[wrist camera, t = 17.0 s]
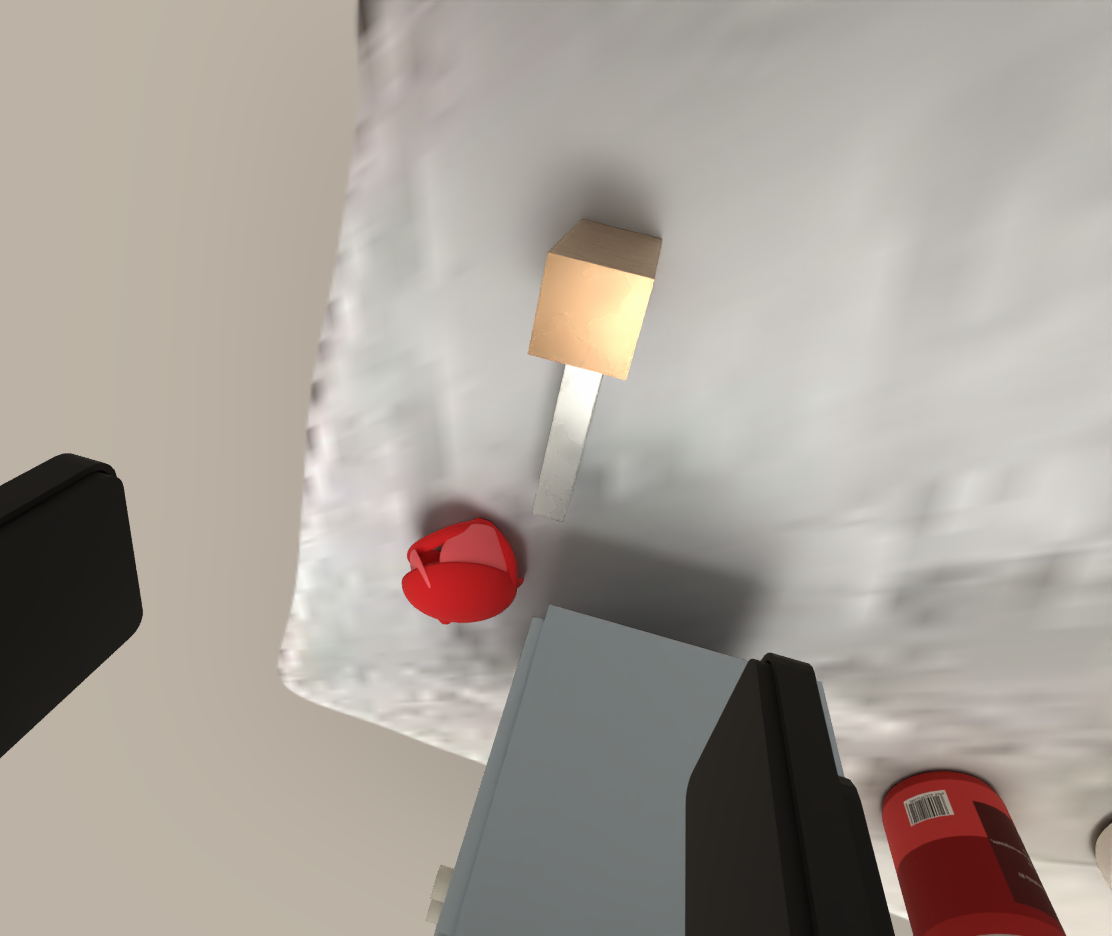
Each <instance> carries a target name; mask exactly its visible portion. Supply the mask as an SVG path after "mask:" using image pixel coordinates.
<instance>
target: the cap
mask: <svg viewBox="0 0 1112 936" xmlns="http://www.w3.org/2000/svg"><path fill="white" fill-rule="evenodd" d="M443 544H444V545H443ZM441 545H443V547H442V549H441V553H440V552H439V551H438V550H433V549H435V548H437V547H439V546H441ZM407 559H408V561H409V562H410V566H411V571H410V572H408V573H407V574H406V575H405V576H404V577H403V579H402V589H403V592H404V594H405V596H406V598H407V599H408V601H409V602H410V603H411V604H412V605H413V606H414V607H415V608H417V609H418V610H419V611H421V612H423V613H424V614H426V615H428V616H431V617H433V618H436V619H438V620H439V621H440V622H441V623H442V624H450V623H451V622H457V623H469V622H477V621H482V620H486V619H489V618H491V617H494V616H496V615H498V614H500V613H501V612H503V611H504V610H505V609H506V608H508V607H509V606H510V604H511V603H512V602H513V600H514V598H515V596H516V593H517V588H518V587H519V586H520V585H521V584H522V583H523V581H524V578H517V562H516V558H515V555H514V553H513V550H512V548H511V546H510V545H509V543H508V541H507V540H506V538H505V537H504V536H503V534H502V533H501V532H500V531H499V530H498V528H497V527H496V526H495V525H493V523H492V522H491V521H488V520H484V519H481V518H475V519H473V521H467V522H461V523H457V524H454V525H451V526H448V527H445V528H443V529H440V530H438V531H436V532H434V533H431V534H429V535H427V536H425V537H423V538H422V539H420V540H418V541H417V542H415V543H414V544H413V545H412V546H411V547H410V548H409V550H408V553H407ZM439 562H440V563H439ZM433 563H435V564H433ZM427 564H429V565H427Z"/></svg>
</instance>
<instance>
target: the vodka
mask: <svg viewBox="0 0 1112 936" xmlns="http://www.w3.org/2000/svg"><path fill="white" fill-rule="evenodd" d="M1095 851H1096V862H1097V866H1098V868H1099V870H1100V872H1101V873H1102V875H1103V877H1104V878H1105V880H1106V882H1107V884H1108V885H1109V887H1110V889H1111V890H1112V823H1111V824H1110V825H1109V826H1107V827H1106V828H1105V829H1104V830H1103V832H1102V833H1101V834H1100V836H1099V837H1098V839H1097V842H1096V850H1095Z"/></svg>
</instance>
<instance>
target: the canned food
mask: <svg viewBox="0 0 1112 936" xmlns="http://www.w3.org/2000/svg"><path fill="white" fill-rule="evenodd" d="M882 821H883V825H884V829H885V832H886V836H887V840H888V843H889V847H890V851H891V854H892V858H893V862H894V866H895V869H896V873H897V877H898V880H899V884H900V888H901V891H902V895H903V899H904V902H905V906H906V910H907V913H908V917H909V921H910V924H911V928H912V932H913V936H1066V934H1065V932H1064V930H1063V928H1062V926H1061V924H1060V921H1059V919H1058V917H1057V915H1056V913H1055V911H1054V909H1053V907H1052V904H1051V902H1050V900H1049V898H1048V896H1047V894H1046V892H1045V889H1044V887H1043V885H1042V883H1041V881H1040V879H1039V877H1038V874H1037V872H1036V870H1035V868H1034V866H1033V864H1032V862H1031V860H1030V857H1029V855H1028V853H1027V851H1026V849H1025V847H1024V845H1023V842H1022V840H1021V838H1020V836H1019V834H1018V832H1017V830H1016V827H1015V825H1014V823H1013V821H1012V819H1011V817H1010V815H1009V813H1008V810H1007V808H1006V806H1005V804H1004V803H1003V801H1002V799H1001V798H1000V797H999V796H998V795H997V794H996V793H995V791H994V790H993V789H992V788H991V787H990V786H989V785H988V784H986V783H985V782H983V781H982V780H980V779H978V778H976V777H973V776H971V775H967V774H963V773H959V772H950V771H934V772H927V773H922V774H918V775H914V776H912V777H909V778H907V779H905V780H903V781H901V782H900V783H898V784H897V785H895V786H894V787H893V788H892V789H891V790H890V791H889V792H888V794H887V795H886V797H885V799H884V802H883V811H882Z"/></svg>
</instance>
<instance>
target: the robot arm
mask: <svg viewBox="0 0 1112 936" xmlns="http://www.w3.org/2000/svg"><path fill="white" fill-rule="evenodd" d="M142 616H143V609H142V602H141V596H140V589H139V583H138V576H137V571H136V564H135V558H134V551H133V544H132V538H131V531H130V525H129V518H128V513H127V506H126V500H125V493H124V486H123V483H122V481H121V480H120V479H119V478H117V476H116V473H115V470H114V469H113V468H112V467H111V466H110V465H108V464H106V463H102V462H99V461H95V460H92V459H89V458H85V457H81V456H78V455H74V454H71V453H70V454H69V453H67V454H66V453H65V454H61V455H58V456H55V457H53V458H51V459H49V460H48V461H46V462H44V463H42V464H40V465H39V466H36V467H35V468H33V469H31V470H29V471H27V472H25V473H23V474H21V475H19V476H18V477H16V478H14V479H12V480H10V481H8V482H6V483H4V484H3V485H1V486H0V758H1V757H2V756H3V755H4V754H5V753H6V752H7V751H8V750H10V748H12V747H13V746H14V745H15V744H16V743H17V742H18V741H19V740H20V739H21V738H23V736H25V735H26V734H27V733H28V732H29V731H30V730H31V729H32V728H33V727H34V726H35V725H36V724H37V723H39V722H40V721H41V720H42V719H43V718H44V717H45V716H46V715H47V714H48V713H49V712H50V711H52V710H53V709H54V708H55V707H56V706H57V705H58V704H59V703H60V702H61V701H62V700H63V699H65V698H66V697H67V696H68V695H69V694H70V693H71V692H72V691H73V690H74V689H75V688H76V687H77V686H79V685H80V684H81V682H83V681H84V680H85V679H86V678H87V677H88V676H89V675H90V674H91V673H92V672H94V671H95V670H96V669H97V668H98V667H99V666H100V665H101V664H102V663H103V662H104V661H105V660H107V658H109V657H110V656H111V655H112V654H113V653H114V652H115V651H116V650H117V649H118V648H119V647H121V646H122V645H123V644H124V643H125V642H126V641H127V640H128V639H129V638H130V637H131V636H132V635H133V634H134V633H135V632H136V630H137V629H138V627H139V625H140V623H141V620H142ZM685 936H895V934H894V930H893V926H892V922H891V918H890V914H889V910H888V906H887V902H886V898H885V894H884V890H883V886H882V883H881V879H880V875H879V871H878V867H877V863H876V859H875V855H874V851H873V847H872V843H871V839H870V835H869V831H868V827H867V823H866V819H865V815H864V812H863V808H862V804H861V800H860V797H859V795H858V792H857V789H856V787H855V786H854V784H853V783H852V782H851V780H849V779H847V778H845V777H842V776H839V775H838V773H837V768H836V764H835V760H834V755H833V751H832V747H831V742H830V738H829V733H828V729H827V725H826V720H825V716H824V712H823V707H822V703H821V698H820V694H819V690H818V685H817V681H816V677H815V673H814V670H813V667H812V666H811V665H810V664H808V663H805V662H801V661H798V660H794V659H791V658H787V657H784V656H780V655H777V654H773V653H767V654H766V655H765V656H764V657H763V658H762V660H761V661H759V660H755V659H751V660H749V661H748V663H747V665H746V666H745V668H744V670H743V672H742V674H741V676H740V678H739V680H738V682H737V684H736V686H735V688H734V690H733V692H732V694H731V696H730V698H729V700H728V702H727V704H726V706H725V708H724V710H723V712H722V714H721V716H720V718H719V720H718V722H717V724H716V726H715V728H714V730H713V732H712V734H711V736H710V738H709V740H708V742H707V744H706V746H705V748H704V750H703V752H702V754H701V756H700V758H699V760H698V762H697V764H696V766H695V768H694V770H693V772H692V774H691V776H690V779H689V782H688V786H687V792H686V805H685Z"/></svg>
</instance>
